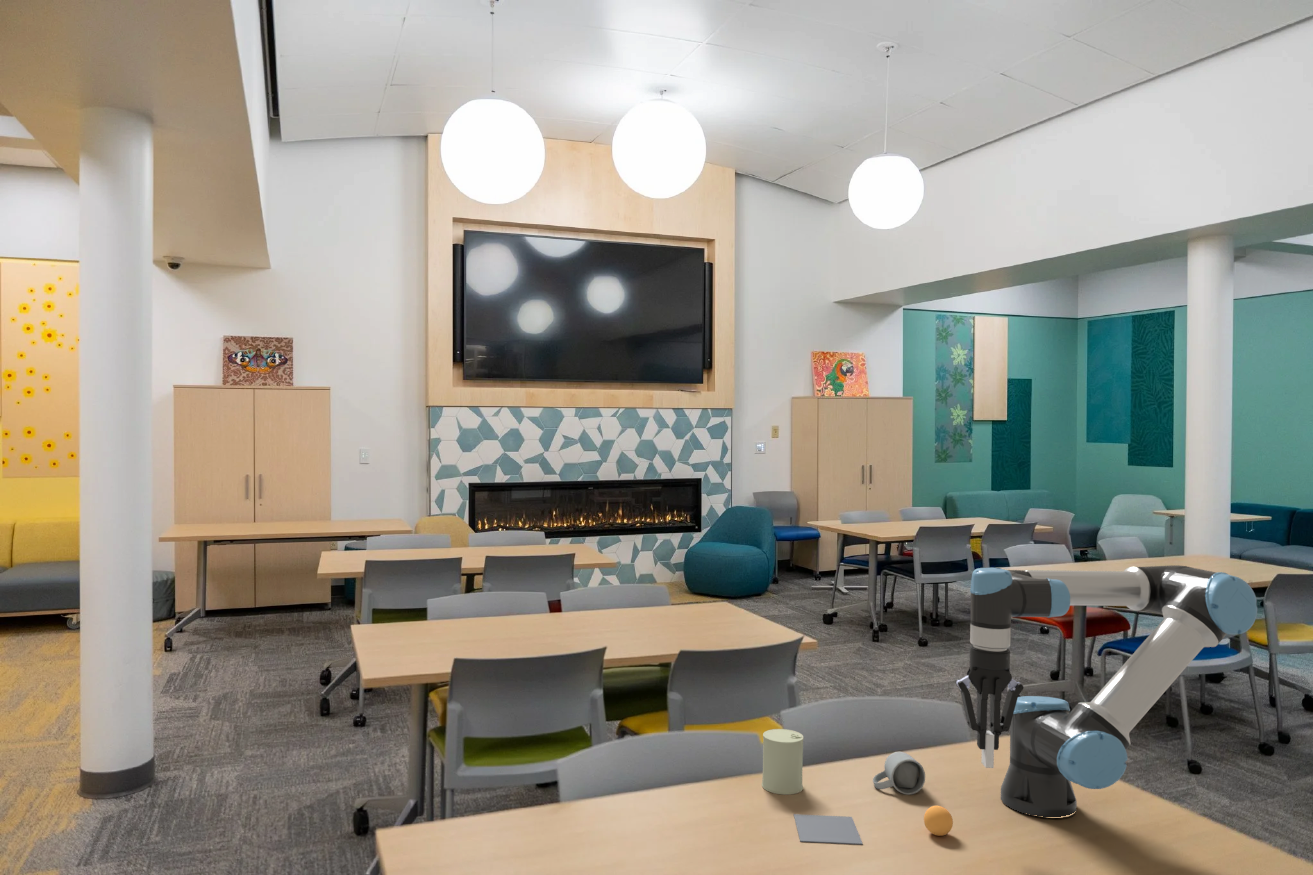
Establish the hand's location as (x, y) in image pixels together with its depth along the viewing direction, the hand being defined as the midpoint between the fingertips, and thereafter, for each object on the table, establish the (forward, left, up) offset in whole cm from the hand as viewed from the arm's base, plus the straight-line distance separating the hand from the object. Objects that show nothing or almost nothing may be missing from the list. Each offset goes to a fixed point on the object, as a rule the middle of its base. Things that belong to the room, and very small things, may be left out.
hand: (987, 765), depth 170 cm
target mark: (+31, 0, -14) cm, 34 cm away
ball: (+9, 0, -11) cm, 15 cm away
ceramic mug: (+12, -23, -15) cm, 30 cm away
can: (+38, -21, -14) cm, 46 cm away
